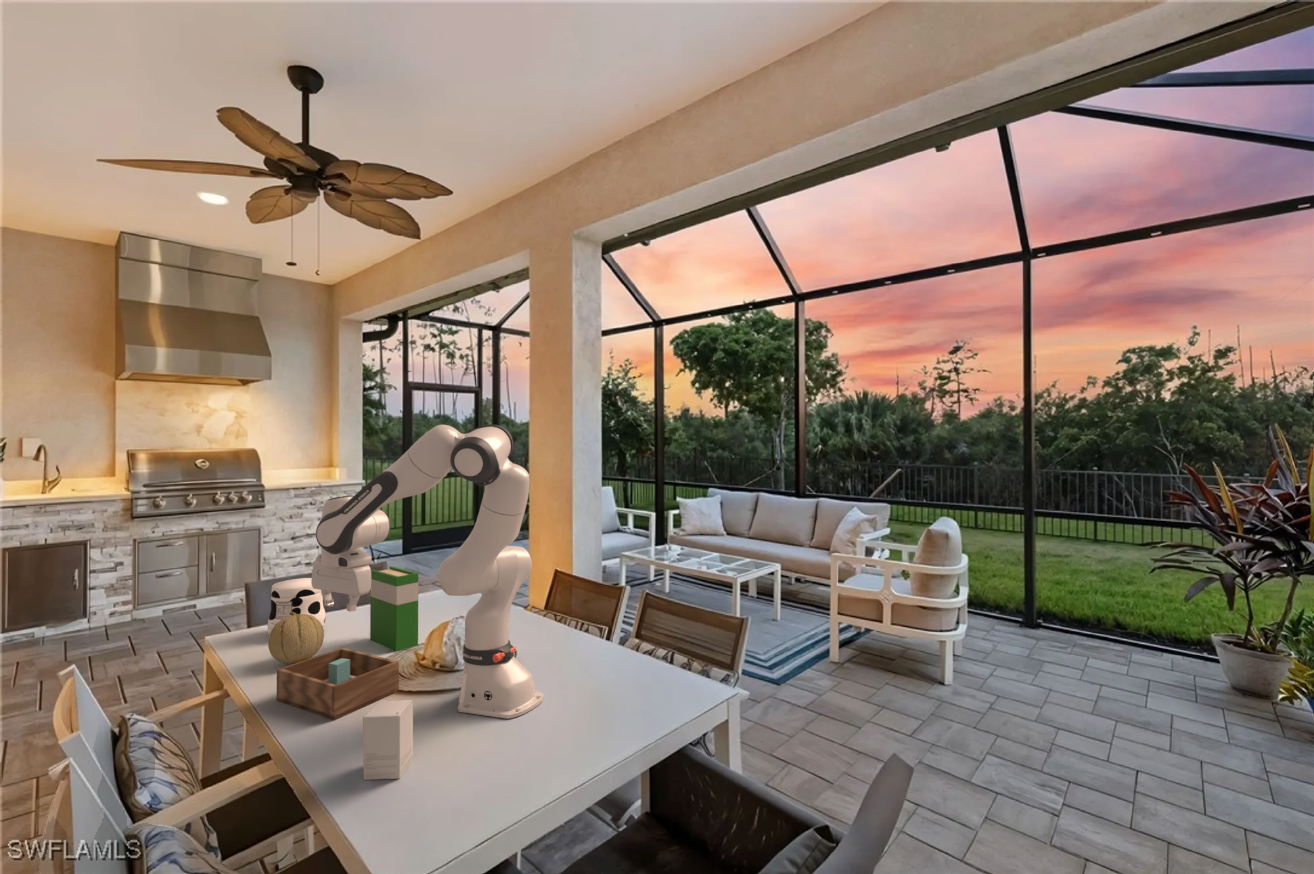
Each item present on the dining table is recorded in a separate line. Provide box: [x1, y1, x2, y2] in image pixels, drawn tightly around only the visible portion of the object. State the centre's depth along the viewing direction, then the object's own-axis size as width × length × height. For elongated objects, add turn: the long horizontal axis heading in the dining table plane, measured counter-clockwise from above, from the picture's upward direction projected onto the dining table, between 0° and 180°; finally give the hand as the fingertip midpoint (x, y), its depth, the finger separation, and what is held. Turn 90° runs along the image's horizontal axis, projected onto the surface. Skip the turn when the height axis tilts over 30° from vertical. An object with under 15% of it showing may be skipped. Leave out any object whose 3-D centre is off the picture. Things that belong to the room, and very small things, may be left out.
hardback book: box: [369, 566, 419, 653], centre depth 190 cm, size 18×7×24 cm, turn 52°
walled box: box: [276, 647, 400, 721], centre depth 149 cm, size 24×18×8 cm
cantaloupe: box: [267, 612, 325, 665], centre depth 173 cm, size 15×15×15 cm
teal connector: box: [329, 658, 350, 685], centre depth 150 cm, size 3×4×8 cm
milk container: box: [267, 577, 327, 634], centre depth 199 cm, size 17×17×18 cm
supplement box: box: [362, 699, 414, 781], centre depth 115 cm, size 7×7×13 cm
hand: (340, 608), depth 150 cm, fingers open, 8 cm apart
